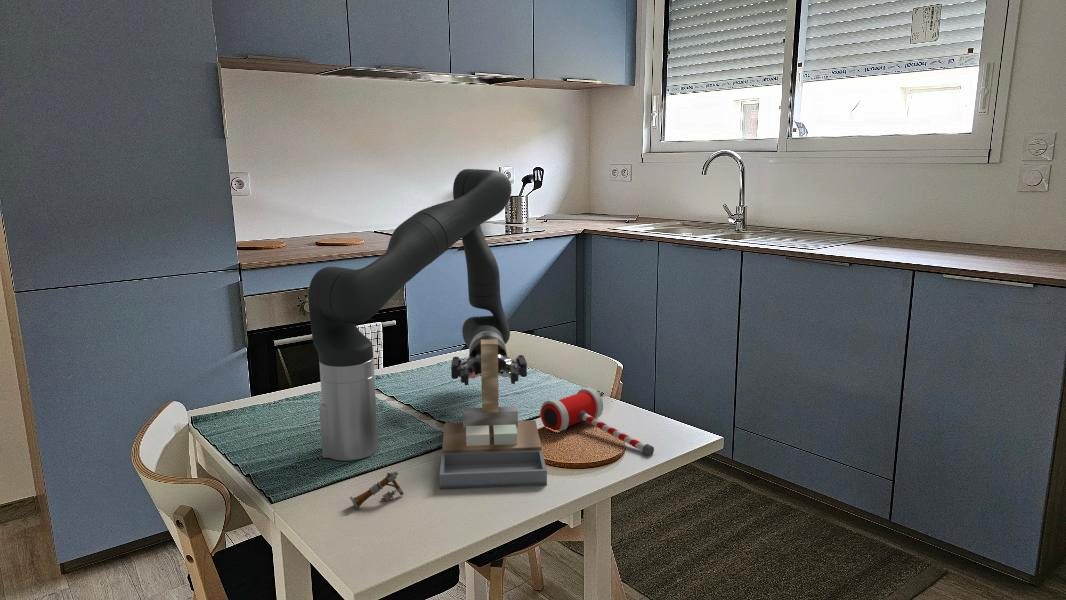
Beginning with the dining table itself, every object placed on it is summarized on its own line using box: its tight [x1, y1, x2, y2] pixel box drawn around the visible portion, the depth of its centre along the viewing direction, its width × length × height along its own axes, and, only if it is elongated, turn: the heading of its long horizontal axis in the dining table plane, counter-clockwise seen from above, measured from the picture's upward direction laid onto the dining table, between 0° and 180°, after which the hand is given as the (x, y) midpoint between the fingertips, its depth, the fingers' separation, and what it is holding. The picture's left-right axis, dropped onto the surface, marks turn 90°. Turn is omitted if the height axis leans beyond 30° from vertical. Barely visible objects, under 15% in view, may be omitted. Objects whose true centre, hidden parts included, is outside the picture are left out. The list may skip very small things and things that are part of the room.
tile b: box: [493, 424, 517, 445], centre depth 126 cm, size 4×4×2 cm
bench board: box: [441, 419, 543, 454], centre depth 129 cm, size 17×12×3 cm
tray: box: [439, 449, 548, 490], centre depth 119 cm, size 17×8×2 cm, turn 95°
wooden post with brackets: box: [349, 471, 404, 511], centre depth 111 cm, size 2×8×4 cm, turn 120°
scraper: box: [462, 339, 519, 428], centre depth 131 cm, size 10×3×16 cm, turn 95°
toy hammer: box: [539, 387, 655, 457], centre depth 135 cm, size 23×12×6 cm, turn 43°
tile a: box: [466, 425, 490, 446], centre depth 126 cm, size 4×4×2 cm
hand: (490, 379), depth 129 cm, fingers open, 8 cm apart
